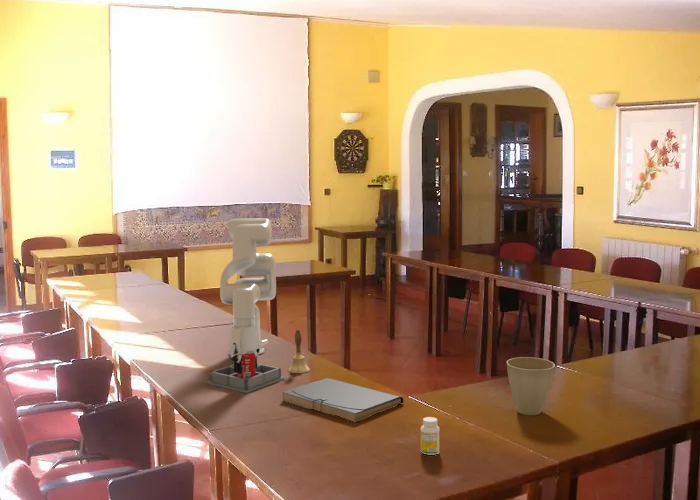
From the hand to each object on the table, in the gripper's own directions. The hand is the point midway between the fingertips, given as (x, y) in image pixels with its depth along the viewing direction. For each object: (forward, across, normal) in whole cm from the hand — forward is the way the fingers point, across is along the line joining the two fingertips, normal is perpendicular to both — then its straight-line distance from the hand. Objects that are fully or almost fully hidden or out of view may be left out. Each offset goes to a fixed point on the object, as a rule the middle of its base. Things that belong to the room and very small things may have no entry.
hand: (245, 369), depth 276 cm
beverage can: (+5, 0, 0) cm, 5 cm away
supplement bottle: (+6, +16, +86) cm, 87 cm away
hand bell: (+6, -26, +3) cm, 27 cm away
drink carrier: (+6, -4, -4) cm, 8 cm away
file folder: (+7, -5, +40) cm, 40 cm away
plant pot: (+6, -31, +95) cm, 100 cm away
